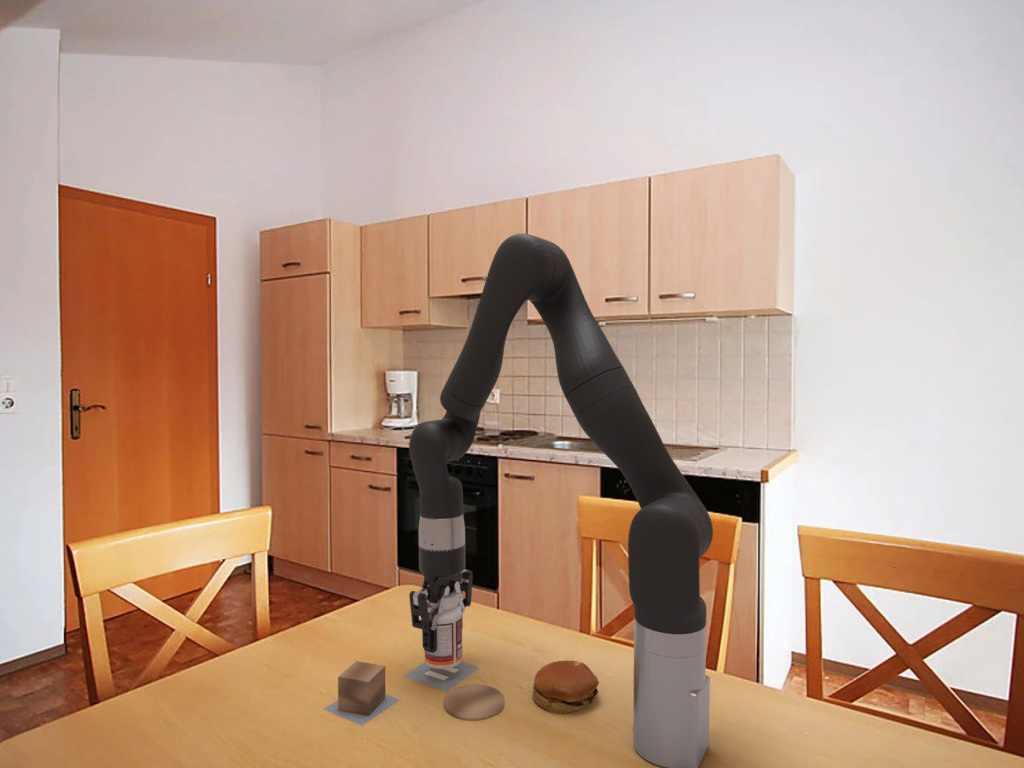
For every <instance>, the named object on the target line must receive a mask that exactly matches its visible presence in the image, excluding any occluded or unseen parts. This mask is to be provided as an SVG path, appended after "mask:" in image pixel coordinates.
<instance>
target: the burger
mask: <svg viewBox="0 0 1024 768" xmlns="http://www.w3.org/2000/svg"><path fill="white" fill-rule="evenodd" d="M598 679H599V678H598V677H597V676H596V674H594V673H593V671H592V670H591V669H590V668H589V666H588V665H586V664H585V663H584V662H579V661H577V660H557V661H552V662H550V663H548V664H546V665H544V666H542V667H541V668H540V669H539V670H538V671H537V672H536V674H535V676H534V679H533V682H534V683H533V688H532V698H533V700H534V701H535V703H536V704H537V705H538V707H541V708H542V709H544V710H546V711H549V712H551V713H555V714H558V715H559V714H569V713H573V712H575V711H577V710H580V709H582V708H583V707H588V706H589V705H590V704H592V703H593V700H595V698H596V696H597V695H598V694H599V690H598V686H599V684H600V681H599V680H598Z"/></svg>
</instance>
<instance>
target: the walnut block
mask: <svg viewBox="0 0 1024 768" xmlns="http://www.w3.org/2000/svg"><path fill="white" fill-rule="evenodd" d="M385 694H386V665H382V664H378V663H377V664H376V663H370V662H365V661H364V662H363V661H357V660H356V661H354V662H353V663H352V664H351V665H349V666H348V667H347V668H346V669H345V670H344V671H343V672H341V673H340V674H339V675H338V676H337V698H338V699H337V700H338V710H340V711H345V712H350V713H356V714H361V715H367V716H369V715H370V714H371V713H372V712H373V711H374V710H375V709H376V708H377V707H378V706H379V704H380V703H381V702H382V701H383V700H384V699H385Z"/></svg>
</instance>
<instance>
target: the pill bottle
mask: <svg viewBox="0 0 1024 768" xmlns="http://www.w3.org/2000/svg"><path fill="white" fill-rule="evenodd" d="M458 603H459V601H458V592H456V593H454V592H452V593H450V594H449V595H448V597H447V598H445V599H443V613H442V615H440V616H439V618H438V622H437V626H436V629H437V651H435V652H434V653H431V652H427V651H425V650H424V663H425V662H426V664H427V665H428V666H430V667H432V668H435V669H447V668H451V667H454V666H456V665H458V664H459V663H460V662H462V660H463V629H462V625H463V624H462V618H463V614H462V612H461V609H460V608H459V607H458V606H457V605H458ZM437 604H438V603H437ZM437 604H435V603H431V602H428V607H429V608H433V609H435V608H436V607H437ZM428 617H429V621H431V618H432V613H430V614H429V616H428Z"/></svg>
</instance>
